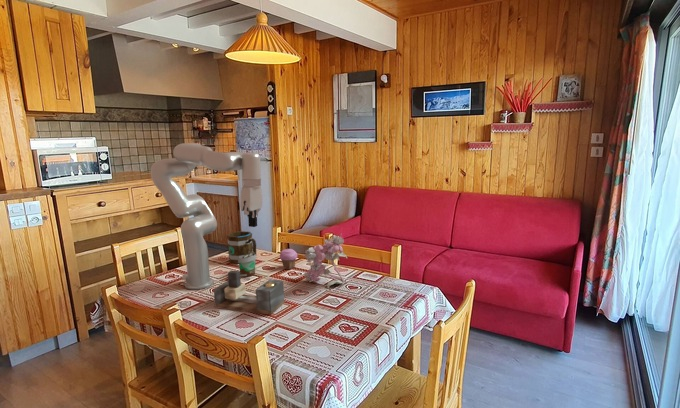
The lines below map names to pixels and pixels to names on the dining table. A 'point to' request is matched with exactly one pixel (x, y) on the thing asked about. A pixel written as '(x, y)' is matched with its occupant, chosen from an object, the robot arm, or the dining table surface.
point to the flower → (317, 258)
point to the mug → (240, 245)
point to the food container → (247, 265)
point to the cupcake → (288, 258)
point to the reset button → (270, 284)
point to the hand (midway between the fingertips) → (252, 226)
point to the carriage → (234, 286)
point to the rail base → (245, 306)
